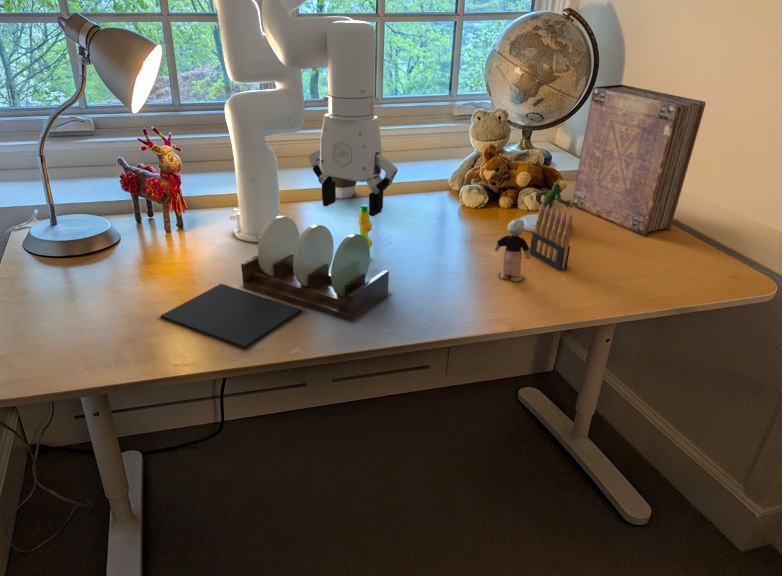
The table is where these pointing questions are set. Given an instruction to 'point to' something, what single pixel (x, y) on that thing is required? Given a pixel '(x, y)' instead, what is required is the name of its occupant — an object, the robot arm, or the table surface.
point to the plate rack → (316, 288)
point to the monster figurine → (550, 197)
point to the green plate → (349, 262)
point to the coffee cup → (344, 187)
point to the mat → (232, 315)
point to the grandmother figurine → (513, 250)
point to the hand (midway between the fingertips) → (351, 209)
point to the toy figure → (365, 223)
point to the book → (636, 156)
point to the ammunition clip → (552, 237)
